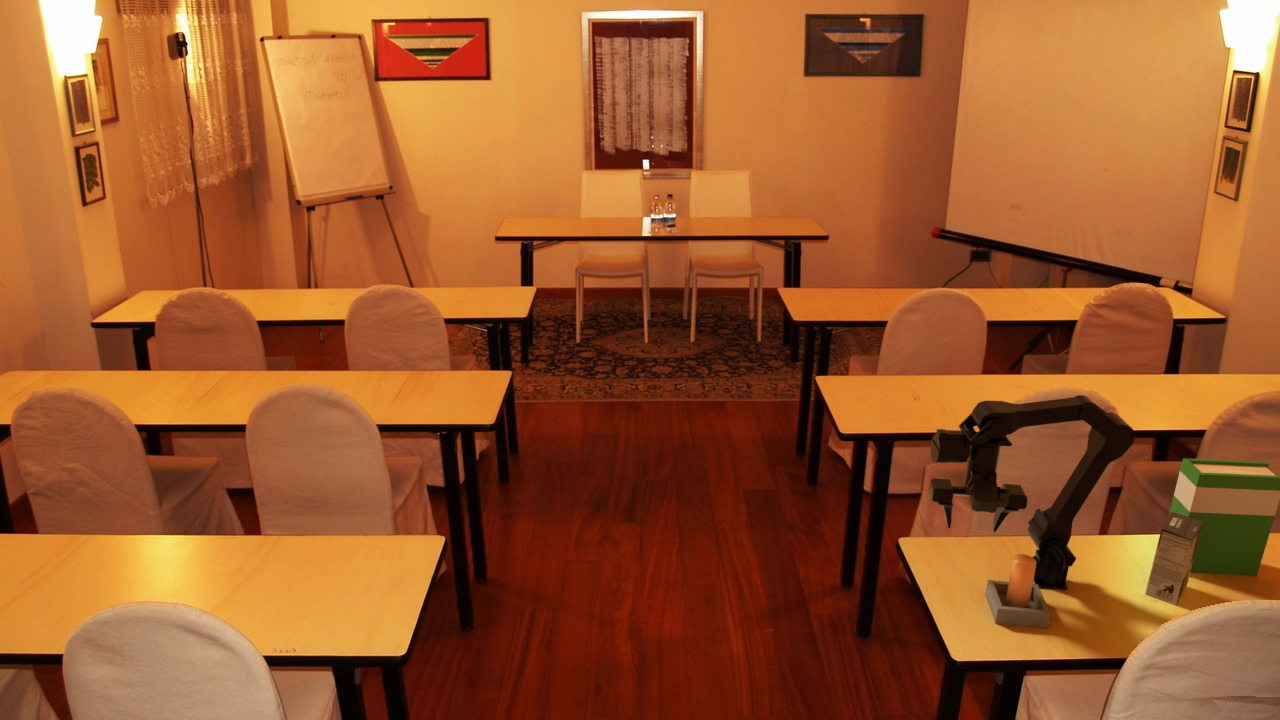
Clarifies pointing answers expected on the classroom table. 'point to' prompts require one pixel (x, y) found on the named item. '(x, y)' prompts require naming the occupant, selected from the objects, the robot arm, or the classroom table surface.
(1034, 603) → the tray
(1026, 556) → the orange cylinder
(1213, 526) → the hardback book
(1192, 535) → the coffee box
